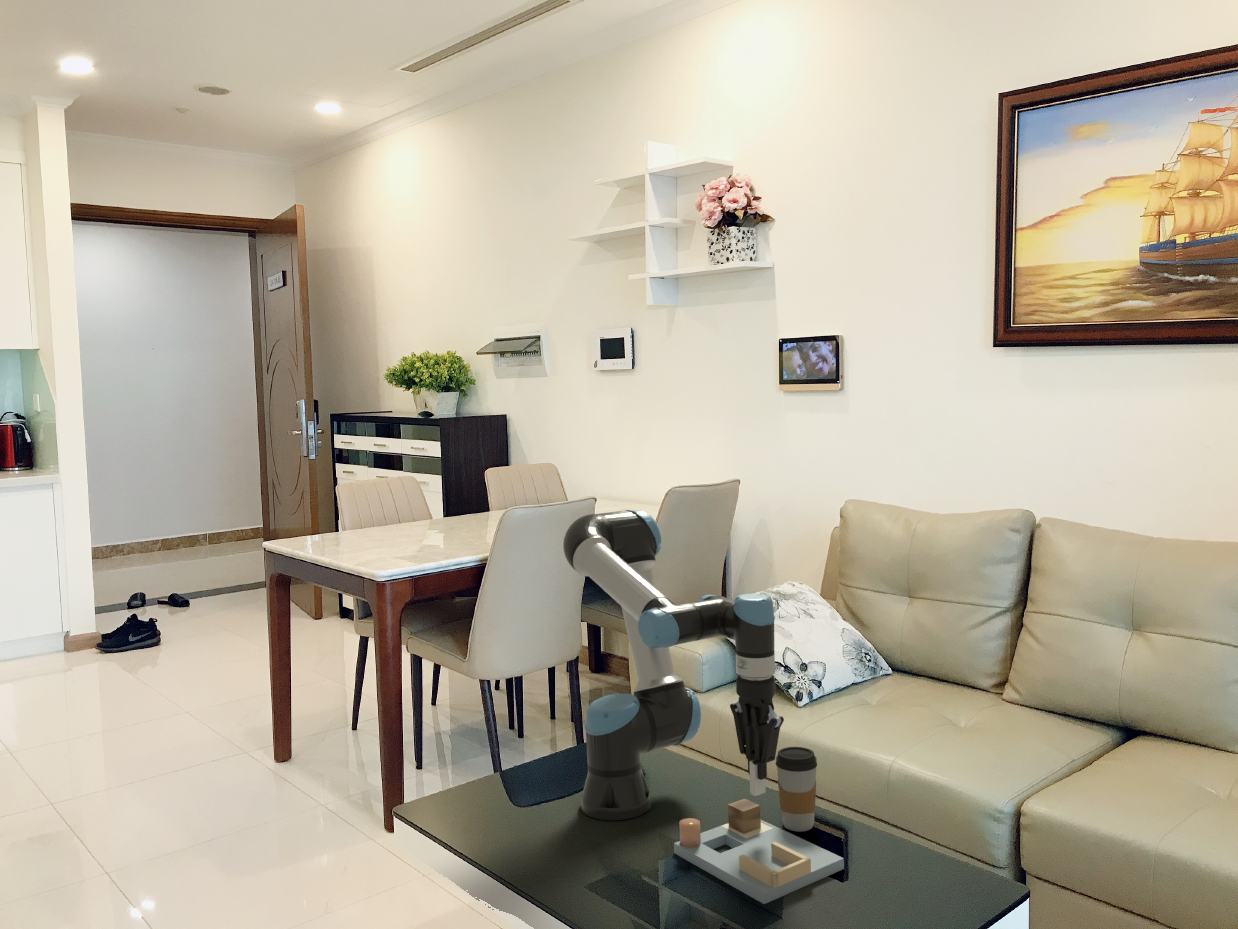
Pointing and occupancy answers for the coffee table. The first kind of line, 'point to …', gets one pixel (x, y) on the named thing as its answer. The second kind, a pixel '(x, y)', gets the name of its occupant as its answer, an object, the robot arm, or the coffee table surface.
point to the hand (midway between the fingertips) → (757, 793)
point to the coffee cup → (797, 787)
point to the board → (761, 860)
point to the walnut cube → (744, 816)
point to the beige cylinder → (690, 832)
